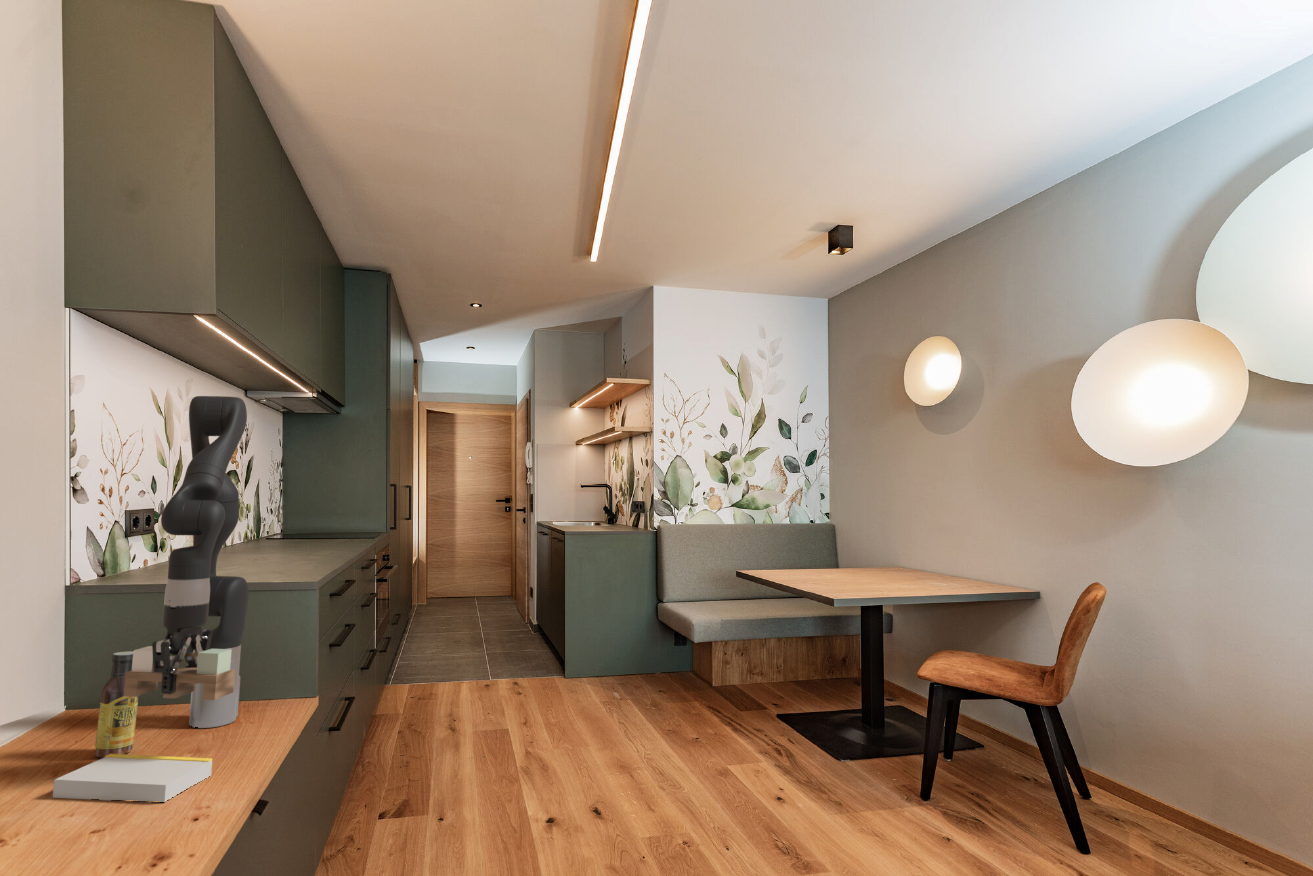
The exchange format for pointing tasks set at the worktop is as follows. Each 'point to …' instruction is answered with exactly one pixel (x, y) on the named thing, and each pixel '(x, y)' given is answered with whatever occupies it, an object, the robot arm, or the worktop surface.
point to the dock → (133, 778)
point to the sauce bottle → (116, 711)
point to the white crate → (143, 660)
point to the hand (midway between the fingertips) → (179, 688)
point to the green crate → (214, 661)
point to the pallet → (181, 683)
